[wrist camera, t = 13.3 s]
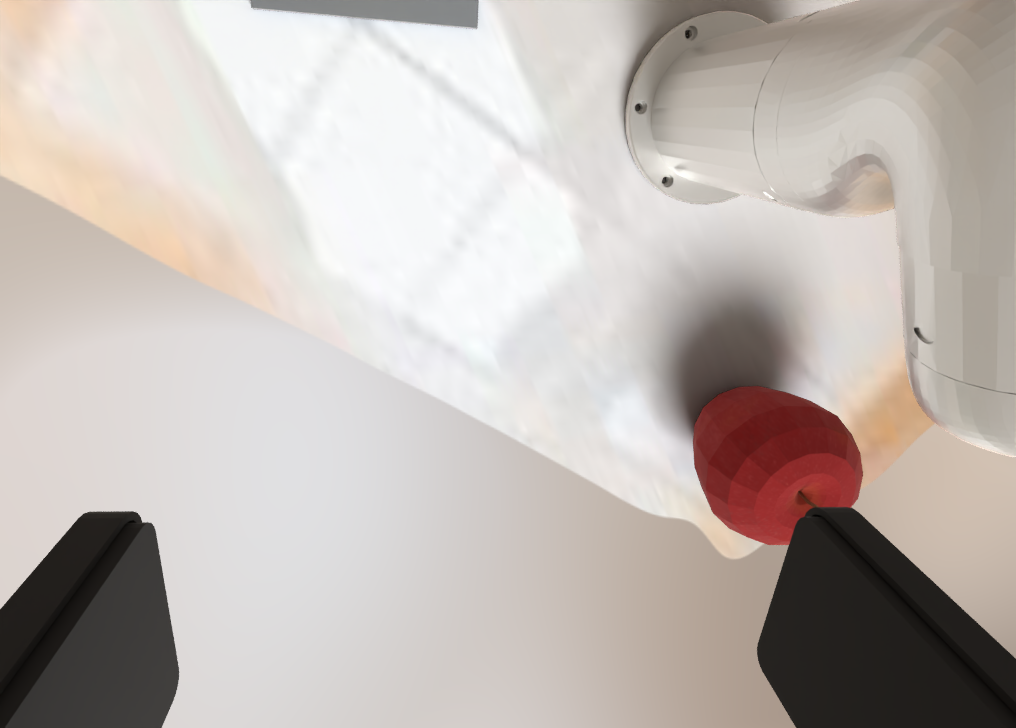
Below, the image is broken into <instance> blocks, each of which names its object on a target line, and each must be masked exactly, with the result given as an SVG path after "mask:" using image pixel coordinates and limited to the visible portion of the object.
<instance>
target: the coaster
mask: <svg viewBox="0 0 1016 728" xmlns="http://www.w3.org/2000/svg"><path fill="white" fill-rule="evenodd" d="M251 8H253V9H258V10H269V11H280V12H291V13H302V14H314V15H325V16H336V17H347V18H358V19H369V20H380V21H391V22H402V23H414V24H425V25H436V26H447V27H458V28H469V29H477V23H478V0H251Z"/></svg>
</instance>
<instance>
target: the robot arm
mask: <svg viewBox="0 0 1016 728" xmlns="http://www.w3.org/2000/svg"><path fill="white" fill-rule="evenodd" d="M686 30H687V31H688V32H689V37H688V38H686V37H685V31H686ZM636 104H639V105H640V110H639V111H636V110H635V106H636ZM626 134H627V140H628V146H629V149H630V151H631V154H632V157H633V159H634V162H635V164H636V165H637V167H638V169H639V170H640V172H641V173H642V175H643V176H644V177H645V178H646V179H647V180H648V181H649V183H650V184H651V185H652V186H653V187H655V188H656V189H658V190H659V191H661V192H662V193H664V194H665V195H667V196H669V197H672V198H674V199H676V200H679V201H683V202H687V203H691V204H706V205H707V204H714V203H720V202H724V201H727V200H730V199H733V198H736V197H738V196H740V195H746V196H750V197H754V198H758V199H761V200H765V201H769V202H773V203H776V204H780V205H784V206H788V207H791V208H795V209H799V210H803V211H808V212H812V213H816V214H820V215H824V216H830V217H838V218H854V217H864V216H869V215H874V214H878V213H881V212H884V211H887V210H890V209H893V208H895V218H896V237H897V244H898V246H899V259H900V278H901V298H902V317H903V336H904V343H905V358H906V366H907V373H908V378H909V382H910V386H911V389H912V392H913V394H914V396H915V399H916V400H917V402H918V404H919V405H920V407H921V408H922V410H923V411H924V413H925V414H926V415H927V416H928V417H929V418H930V419H931V420H932V421H933V422H934V423H935V424H937V425H938V426H939V427H940V428H942V429H943V430H945V431H947V432H948V433H950V434H952V435H953V436H955V437H957V438H958V439H960V440H963V441H965V442H967V443H969V444H972V445H974V446H977V447H979V448H982V449H985V450H988V451H992V452H995V453H998V454H1002V455H1006V456H1010V457H1014V458H1016V0H858V1H854V2H850V3H846V4H843V5H840V6H836V7H832V8H828V9H824V10H820V11H816V12H813V13H809V14H805V15H801V16H797V17H793V18H789V19H785V20H781V21H778V22H774V23H770V24H767V23H766V22H765V21H763V20H761V19H759V18H757V17H755V16H752V15H750V14H746V13H741V12H737V11H716V12H711V13H707V14H703V15H699V16H697V17H694V18H692V19H689V20H686V21H685V22H683V23H681V24H680V25H678V26H676V27H675V28H673V29H671V30H670V31H669V32H668V33H667V34H666V35H664V36H663V37H662V38H661V39H660V40H659V41H658V42H657V43H656V44H655V45H654V46H653V48H652V49H651V50H650V51H649V53H648V54H647V55H646V56H645V58H644V59H643V61H642V63H641V65H640V67H639V69H638V70H637V72H636V74H635V77H634V79H633V82H632V85H631V88H630V91H629V95H628V100H627V106H626ZM663 177H666V182H665V183H662V179H663ZM757 655H758V661H759V664H760V667H761V669H762V671H763V673H764V674H765V676H766V678H767V680H768V681H769V683H770V685H771V686H772V688H773V690H774V691H775V693H776V695H777V696H778V698H779V700H780V701H781V703H782V705H783V706H784V708H785V710H786V711H787V713H788V715H789V716H790V718H791V720H792V721H793V723H794V725H795V726H796V728H1016V659H1015V658H1014V657H1013V656H1012V655H1011V654H1010V653H1009V652H1008V651H1007V650H1006V649H1005V648H1003V647H1002V646H1001V645H1000V644H999V643H998V642H997V641H996V640H995V639H994V638H993V637H992V636H991V635H989V633H987V632H986V631H985V630H984V629H983V628H982V627H981V626H980V625H979V624H978V623H977V622H976V621H975V620H974V619H972V618H971V617H970V616H969V615H968V614H967V613H966V612H965V611H964V610H962V608H961V607H960V606H958V605H957V604H956V603H955V602H954V601H953V600H952V599H951V598H950V597H949V596H948V595H947V594H946V593H945V592H943V591H942V590H941V589H940V588H939V587H938V586H937V585H936V584H935V583H934V582H933V581H932V580H931V579H930V578H928V577H927V576H926V575H925V574H924V573H923V572H922V571H921V570H920V569H919V568H918V567H916V566H915V565H914V564H913V563H912V562H911V561H910V560H909V559H908V558H907V557H906V556H905V555H904V554H902V553H901V552H900V551H899V550H898V549H897V548H896V547H895V546H894V545H893V544H892V543H891V542H890V541H889V540H888V539H886V538H885V537H884V536H883V535H882V534H881V533H880V532H879V531H878V530H877V529H876V528H875V527H874V526H872V525H871V524H870V523H869V522H868V521H867V520H866V519H865V518H864V517H863V516H862V515H861V514H860V513H859V512H857V511H856V510H854V509H853V508H849V507H814V508H811V509H809V510H808V511H807V512H806V514H805V516H804V517H802V518H800V519H799V520H798V521H797V523H796V525H795V528H794V531H793V534H792V537H791V541H790V544H789V547H788V550H787V553H786V556H785V560H784V563H783V566H782V570H781V573H780V576H779V579H778V582H777V585H776V588H775V591H774V595H773V598H772V601H771V604H770V607H769V611H768V614H767V617H766V620H765V623H764V626H763V630H762V633H761V636H760V639H759V642H758V647H757ZM178 680H179V667H178V661H177V655H176V649H175V643H174V637H173V632H172V626H171V620H170V614H169V608H168V602H167V596H166V590H165V584H164V578H163V573H162V566H161V560H160V555H159V549H158V543H157V538H156V531H155V528H154V526H153V524H152V523H142V520H141V517H140V516H139V515H138V513H136V512H88V513H85V514H83V515H82V516H81V517H80V518H78V520H77V521H76V522H75V523H74V524H73V525H72V527H71V528H70V529H69V530H68V531H67V532H66V534H65V535H64V536H63V537H62V538H61V540H60V541H59V542H58V543H57V544H56V545H55V546H54V548H53V549H52V550H51V551H50V552H49V553H48V555H47V556H46V557H45V558H44V559H43V560H42V562H41V563H40V564H39V565H38V566H37V567H36V569H35V570H34V571H33V572H32V573H31V574H30V575H29V577H28V578H27V579H26V580H25V581H24V582H23V584H22V585H21V586H20V587H19V588H18V590H17V591H16V592H15V593H14V594H13V595H12V596H11V598H10V599H9V600H8V601H7V602H6V604H5V605H4V606H3V607H2V608H1V609H0V728H162V725H163V723H164V721H165V718H166V716H167V714H168V711H169V709H170V707H171V704H172V702H173V700H174V697H175V694H176V690H177V686H178Z"/></svg>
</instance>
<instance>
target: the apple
mask: <svg viewBox="0 0 1016 728" xmlns="http://www.w3.org/2000/svg"><path fill="white" fill-rule="evenodd" d="M693 449H694V465H695V469H696V472H697V475H698V478H699V481H700V484H701V487H702V489H703V491H704V494H705V496H706V498H707V500H708V503H709V505H710V507H711V510H712V512H713V513H714V514H715V515H716V516H717V517H718V518H719V519H720V520H721V521H722V522H723V523H724V524H725V525H726V526H727V527H728V528H730V529H732V530H734V531H736V532H738V533H740V534H742V535H744V536H746V537H748V538H751V539H754V540H757V541H759V542H762V543H765V544H768V545H789V544H790V541H791V537H792V534H793V531H794V528H795V525H796V523H797V521H798V520H799V519H800V518H802V517H804V516H805V514H806V512H807V511H808V510H809V509H811V508H814V507H849V508H851V506H852V505H853V504H854V503H855V502H856V500H857V499H858V496H859V491H860V487H861V482H862V477H863V471H862V464H861V456H860V452H859V450H858V447H857V445H856V443H855V441H854V439H853V436H852V434H851V433H850V432H849V431H848V429H847V428H846V427H845V425H844V424H843V423H842V421H841V420H840V419H839V418H838V416H836V415H834V414H833V413H831V412H829V411H827V410H825V409H824V408H822V407H820V406H818V405H817V404H815V403H813V402H811V401H809V400H806V399H804V398H801V397H798V396H795V395H792V394H789V393H786V392H782V391H777V390H773V389H769V388H765V387H760V386H748V387H737V388H735V389H732V390H729V391H726V392H724V393H721V394H719V395H717V396H716V397H715V398H714V399H713V400H711V401H710V402H709V403H708V404H707V405H705V406H704V407H703V409H702V411H701V413H700V415H699V417H698V419H697V421H696V423H695V425H694V437H693Z"/></svg>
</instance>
